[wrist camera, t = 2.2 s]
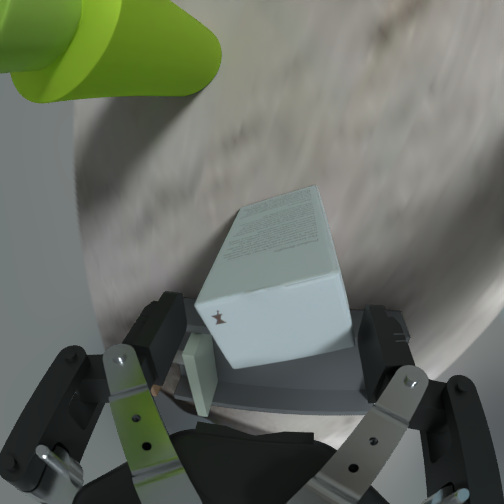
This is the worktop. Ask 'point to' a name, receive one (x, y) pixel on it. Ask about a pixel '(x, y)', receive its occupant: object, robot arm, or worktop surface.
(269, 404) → the pusher lane
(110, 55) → the soap dispenser
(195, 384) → the pusher
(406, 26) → the worktop surface
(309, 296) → the skincare box
